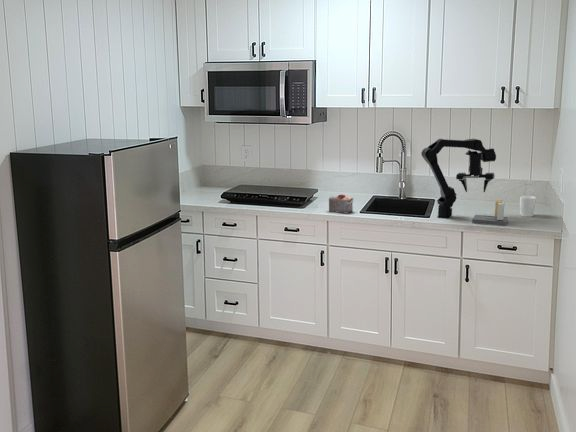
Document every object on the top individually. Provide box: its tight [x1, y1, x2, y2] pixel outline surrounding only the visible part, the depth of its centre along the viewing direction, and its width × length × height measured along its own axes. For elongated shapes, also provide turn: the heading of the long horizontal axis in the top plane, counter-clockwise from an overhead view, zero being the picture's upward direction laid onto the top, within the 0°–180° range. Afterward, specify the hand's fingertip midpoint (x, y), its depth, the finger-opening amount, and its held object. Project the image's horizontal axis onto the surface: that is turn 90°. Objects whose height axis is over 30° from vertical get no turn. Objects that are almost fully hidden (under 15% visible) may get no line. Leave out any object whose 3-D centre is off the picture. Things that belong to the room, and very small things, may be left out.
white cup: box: [519, 195, 537, 218], centre depth 312 cm, size 8×8×10 cm
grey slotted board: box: [471, 214, 509, 227], centre depth 300 cm, size 16×12×2 cm
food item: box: [328, 194, 354, 213], centre depth 330 cm, size 14×8×10 cm, turn 65°
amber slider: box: [494, 199, 504, 217], centre depth 301 cm, size 3×4×8 cm
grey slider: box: [497, 202, 505, 220], centre depth 295 cm, size 3×4×8 cm
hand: (475, 192), depth 312 cm, fingers open, 9 cm apart
